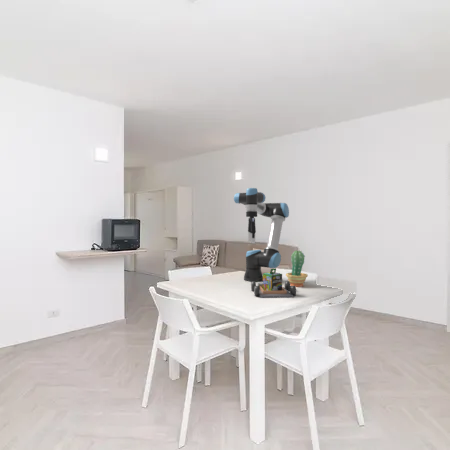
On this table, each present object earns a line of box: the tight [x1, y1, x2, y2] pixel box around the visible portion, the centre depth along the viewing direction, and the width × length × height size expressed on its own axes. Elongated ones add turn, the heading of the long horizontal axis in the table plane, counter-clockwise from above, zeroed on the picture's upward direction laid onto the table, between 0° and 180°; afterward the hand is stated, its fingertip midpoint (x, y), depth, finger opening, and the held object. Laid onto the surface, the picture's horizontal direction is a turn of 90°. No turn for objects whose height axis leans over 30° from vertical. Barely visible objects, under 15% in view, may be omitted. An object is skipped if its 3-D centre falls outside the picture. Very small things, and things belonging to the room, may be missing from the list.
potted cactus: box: [285, 249, 309, 288], centre depth 229 cm, size 15×15×25 cm
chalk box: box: [262, 268, 283, 291], centre depth 205 cm, size 9×9×15 cm
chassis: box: [250, 280, 297, 299], centre depth 206 cm, size 24×25×6 cm
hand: (251, 242), depth 216 cm, fingers open, 13 cm apart
